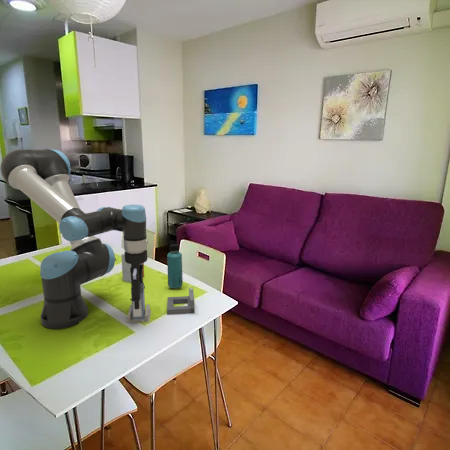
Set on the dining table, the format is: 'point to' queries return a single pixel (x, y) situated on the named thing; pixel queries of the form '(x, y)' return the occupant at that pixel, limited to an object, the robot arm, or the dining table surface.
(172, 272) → the beverage bottle
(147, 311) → the grey u-shaped block
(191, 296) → the port
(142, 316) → the plug
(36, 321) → the dining table surface
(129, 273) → the small box
